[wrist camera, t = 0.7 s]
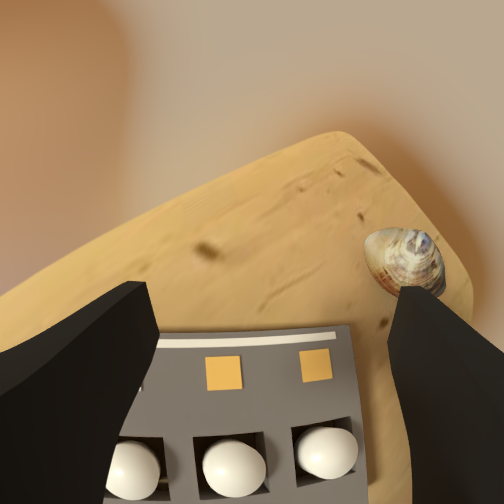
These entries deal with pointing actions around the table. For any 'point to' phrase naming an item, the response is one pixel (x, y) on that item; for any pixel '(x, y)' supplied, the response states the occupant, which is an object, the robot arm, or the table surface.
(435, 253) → the seashell
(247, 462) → the button middle
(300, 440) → the button
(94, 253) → the table surface
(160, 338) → the switch console
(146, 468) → the button
